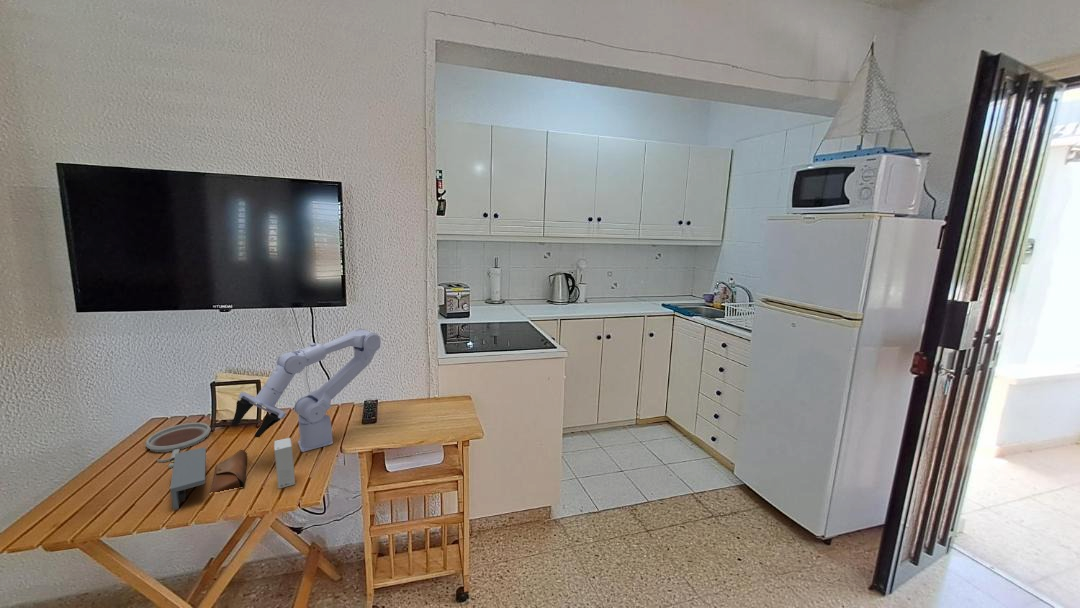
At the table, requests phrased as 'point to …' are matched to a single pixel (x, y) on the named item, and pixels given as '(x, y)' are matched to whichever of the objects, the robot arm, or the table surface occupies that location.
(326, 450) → the table surface
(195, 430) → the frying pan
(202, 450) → the low shelf
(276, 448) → the skincare box
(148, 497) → the table surface
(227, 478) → the sunglasses case
